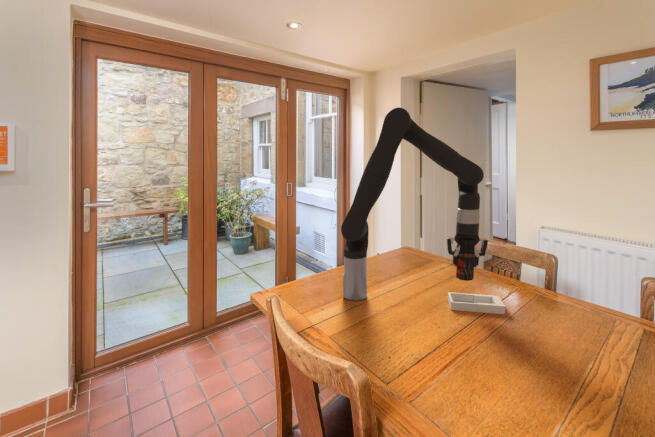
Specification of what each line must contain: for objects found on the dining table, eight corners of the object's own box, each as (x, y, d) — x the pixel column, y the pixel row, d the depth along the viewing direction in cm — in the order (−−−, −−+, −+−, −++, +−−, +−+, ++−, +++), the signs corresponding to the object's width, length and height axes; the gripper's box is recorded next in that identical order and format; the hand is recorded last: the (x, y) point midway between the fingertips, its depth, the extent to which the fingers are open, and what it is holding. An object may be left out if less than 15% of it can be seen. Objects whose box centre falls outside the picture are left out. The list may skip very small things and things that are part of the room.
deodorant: (476, 280, 114) (478, 240, 112) (459, 280, 115) (461, 240, 112) (469, 274, 120) (471, 236, 118) (453, 274, 120) (455, 236, 118)
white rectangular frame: (450, 309, 116) (451, 302, 116) (447, 299, 125) (447, 292, 124) (504, 314, 112) (505, 306, 112) (497, 303, 121) (498, 295, 120)
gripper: (447, 222, 112) (445, 268, 115) (492, 223, 108) (489, 270, 111) (445, 218, 119) (443, 261, 122) (487, 219, 116) (484, 263, 119)
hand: (465, 265), depth 117 cm, fingers closed on deodorant, 6 cm apart
